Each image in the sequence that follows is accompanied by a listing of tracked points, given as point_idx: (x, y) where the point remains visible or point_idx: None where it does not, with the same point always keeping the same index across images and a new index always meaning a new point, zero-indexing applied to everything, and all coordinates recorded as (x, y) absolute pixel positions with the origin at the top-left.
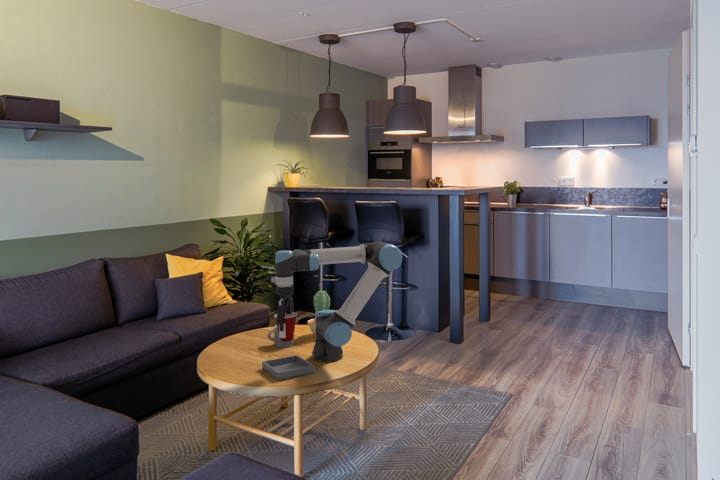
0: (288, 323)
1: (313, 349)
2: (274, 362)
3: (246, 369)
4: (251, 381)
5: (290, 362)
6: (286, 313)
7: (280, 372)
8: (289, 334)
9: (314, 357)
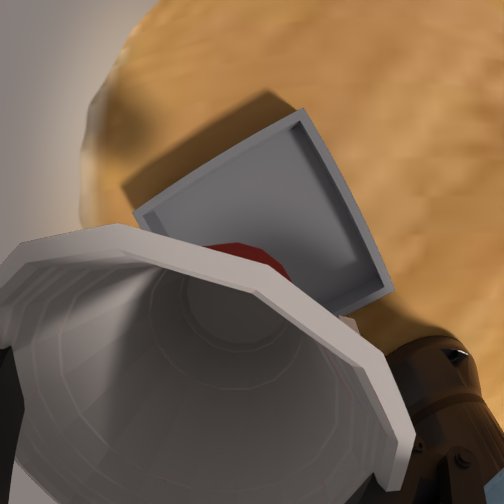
0: (80, 413)
1: (435, 361)
2: (328, 173)
3: (293, 46)
4: (143, 98)
5: (362, 251)
6: (369, 483)
7: (138, 223)
8: (160, 351)
9: (401, 352)
